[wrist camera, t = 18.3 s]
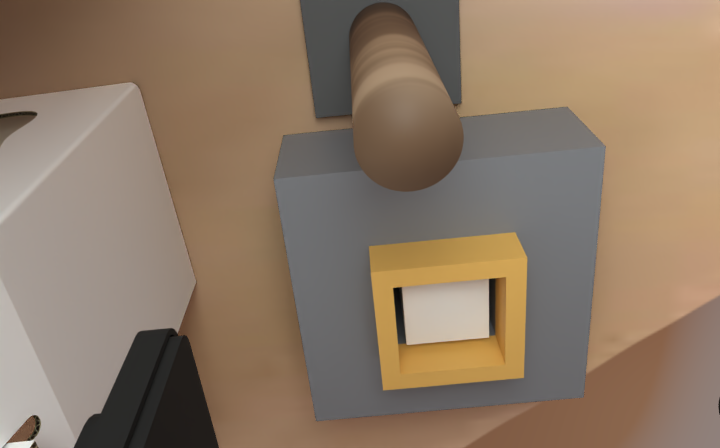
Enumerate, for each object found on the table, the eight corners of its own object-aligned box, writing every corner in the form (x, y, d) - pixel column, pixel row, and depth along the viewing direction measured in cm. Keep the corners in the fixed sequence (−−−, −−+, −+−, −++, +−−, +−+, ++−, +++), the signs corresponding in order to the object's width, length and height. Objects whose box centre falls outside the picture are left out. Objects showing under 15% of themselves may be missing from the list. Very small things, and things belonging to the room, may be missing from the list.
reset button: (393, 221, 39) (401, 276, 33) (468, 213, 39) (488, 267, 33) (398, 284, 41) (406, 345, 36) (469, 277, 41) (489, 337, 35)
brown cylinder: (345, 6, 33) (347, 93, 20) (414, -2, 33) (462, 82, 20) (352, 74, 35) (359, 196, 21) (418, 67, 35) (464, 186, 21)
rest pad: (295, -39, 32) (295, -37, 32) (455, -56, 32) (457, -55, 32) (316, 114, 36) (316, 117, 36) (459, 100, 36) (461, 103, 36)
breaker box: (283, 135, 37) (268, 202, 29) (567, 106, 36) (625, 167, 29) (319, 356, 44) (314, 453, 37) (554, 334, 44) (598, 428, 36)
